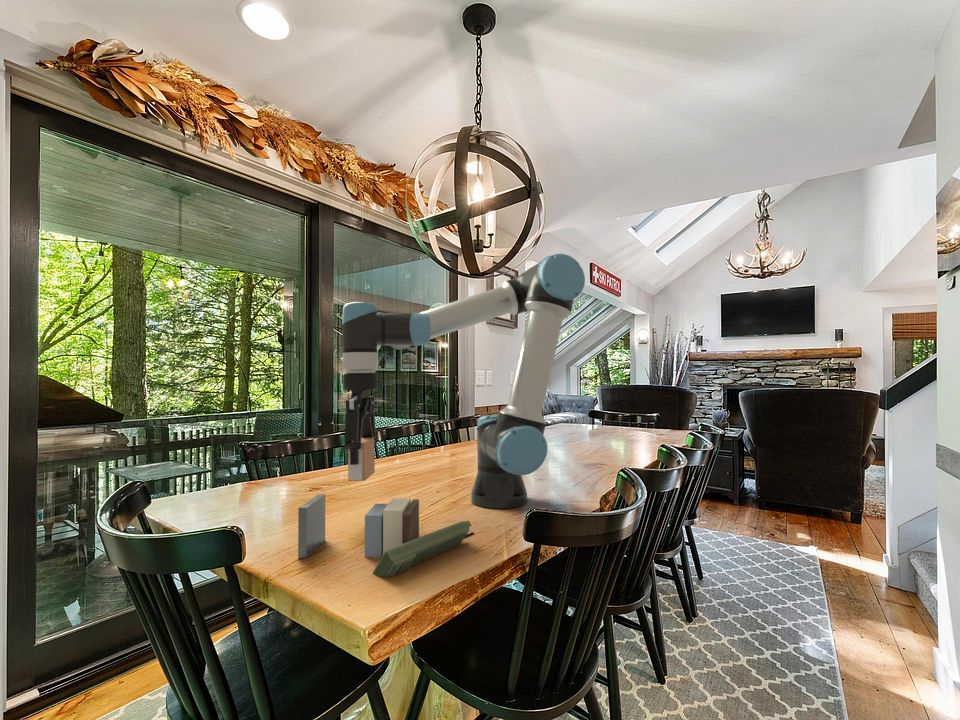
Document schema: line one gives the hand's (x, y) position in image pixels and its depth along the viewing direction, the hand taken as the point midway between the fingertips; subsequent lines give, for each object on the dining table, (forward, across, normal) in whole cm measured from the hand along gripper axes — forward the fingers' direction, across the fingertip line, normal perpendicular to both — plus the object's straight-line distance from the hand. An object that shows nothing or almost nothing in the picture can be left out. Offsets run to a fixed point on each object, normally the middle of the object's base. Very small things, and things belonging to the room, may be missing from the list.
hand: (361, 474), depth 99 cm
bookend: (+11, +14, -6) cm, 19 cm away
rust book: (0, 0, 0) cm, 0 cm away
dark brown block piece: (+12, +14, +4) cm, 19 cm away
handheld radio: (+13, +15, +16) cm, 25 cm away
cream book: (+11, +14, +11) cm, 21 cm away
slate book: (+11, +14, +7) cm, 19 cm away
